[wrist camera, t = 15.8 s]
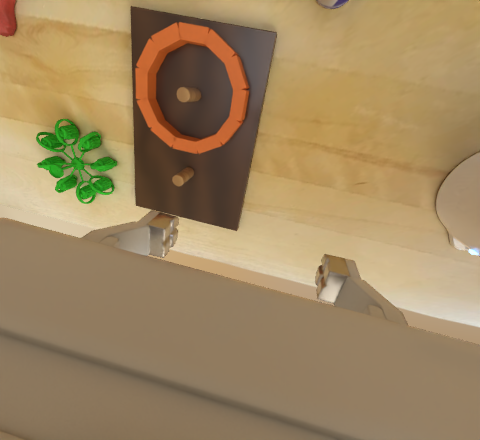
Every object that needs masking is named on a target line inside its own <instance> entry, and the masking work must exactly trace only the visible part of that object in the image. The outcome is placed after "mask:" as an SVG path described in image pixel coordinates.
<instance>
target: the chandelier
mask: <svg viewBox="0 0 480 440" xmlns="http://www.w3.org/2000/svg"><path fill="white" fill-rule="evenodd" d="M64 120H65V121H67V122H69V123H70V124H71V125H67V126H61V127H60V128H58V127H59V124H60V123H61V122H62V121H64ZM55 133H56V135H54V134H52V133H48V132H40V133H38V134H37V137H36V140H37V142H38V143H39V144H40V145H41V146H42V147H44V148H45V149H47V150H50V151H53V152H63V153H64V154H65V155H66V156H67V157H69V158H70V159H71V160H72V162H71V163H66V162H65V160H62V159H61V158H60V157H58V156H54V157H50V158H46V159H45V160H43V161H42V162H40V163H38V164H37V165H38V167H39V168H44V169H46V170H49V172H50V174H51V175H52V176H53V177H55V178H60V177H62V176H63V175H64V171H63V170H65V169H68V168H71V167H74V169H73V171H72V173H71V175H69V176H67V177H65V178H62V179H60V180H59V181H58V182H57V185H56V187H55V190H56V191H57V192H58V193H61V192H64V191H66V190H68V189H71V188H73V187H75V186H76V185H77V181H76V180H77V177H76V176H75V175H72V174H73V173H74V171H75V169H77V170H79V173H80V176H81V179H82V182H80V183H79V184H78V186H77V189H76V195H77V198H78V200H79V201H80V202H82V203H85V204H89V203H91V202H93V200H94V199H95V196H96V192H97V193H100V194H103V195H109V194H111V193H112V192H113V191H114V185H113V183H112V182H111V180H110V179H108V178H106V177H103V176H99V175H95V176H92V175H91V174H89V173H88V172H87V171H86V170H85V169H84V165H90V167H91V169H96V170H98V171H100V172H102V171H107V170H109V169H112V168H113V167H114V166H117V161H113V160H112V159H111V158H109V157H104V158H101V159H98V160H97V161H96V162H95V163H92V164H84V162H83V161H82V160H81V158H82V157H83V155H84V153H85V152H88V151H90V150H91V149H93V148H97V147H99V146H100V144H101V142H100V138H101V135H100V134H99V133H98V132H92V133H90V134H88V135H86V136H84V137H83V138H81V139H80V141H79V142H80V143H79V145H78V149H79V150H80V151H81V152H83V153H82V155H81V157H80V158H78V157H76V156H75V152H74V149H73V146H72V145H75V144H76V143H77V141H78V138H79V131H78V129H77V127H76V126H75V124H74V123H73V122H72V121H70V120H68V119H60V120H58V121H57V123H56V125H55ZM40 135H49V136H46V137H44V138H42V139H41V141H40V140H39V138H38V136H40ZM96 135H98V136H96ZM74 138H75V141H74V142H73V143H72V144H67V143H65V142H64V141H63V139H66V140H69V139H74ZM63 145H64V148H63V149H54V148H59V147H61V146H63ZM66 145H67V146H71V148H72V151H73V154H74V159H72V158H71V157H70V156H68V155H67V154H66V153H65V152H64V150H65V148H66ZM81 148H84V150H81ZM64 164H66V165H69V166H66V167H63V168H61V167H62V166H63V165H64ZM82 169H83V170H84V171H85V172H86V173H87V174H89V175H90V176H91V178H90V180H89V181H83V178H82V174H81V171H80V170H82ZM73 177H74V178H73ZM93 178H101V179H99V180H97V181H95V182H94V183H93V184H92V183H91V179H93ZM84 182H87V183H89V185H87V186H84V187H82V188H80V186H81V185H82V184H83V183H84ZM110 187H112V191H111V192H102V191H105V190H107V189H109V188H110ZM58 189H60V190H58ZM91 196H92V199H91V200H90V201H89V202H84V201H83V200H82V199H87V198H89V197H91Z"/></svg>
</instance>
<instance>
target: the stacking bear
mask: <svg viewBox="0 0 480 440" xmlns="http://www.w3.org/2000/svg"><path fill="white" fill-rule="evenodd" d="M15 1H16V0H0V35H2V36H6V37H7V36H9V35H10V36H12V35H13V34H14V32H15V30H16V20H15V15H14V5H15Z"/></svg>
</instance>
